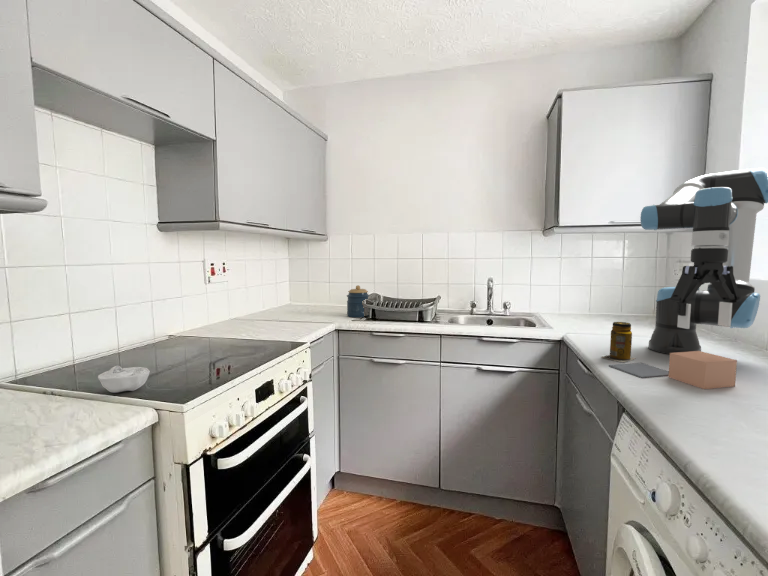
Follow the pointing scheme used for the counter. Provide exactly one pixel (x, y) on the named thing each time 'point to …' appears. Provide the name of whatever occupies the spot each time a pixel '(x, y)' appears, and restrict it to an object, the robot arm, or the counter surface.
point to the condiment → (620, 342)
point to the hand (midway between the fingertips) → (703, 327)
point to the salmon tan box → (702, 369)
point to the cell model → (123, 378)
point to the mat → (641, 370)
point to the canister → (356, 302)
